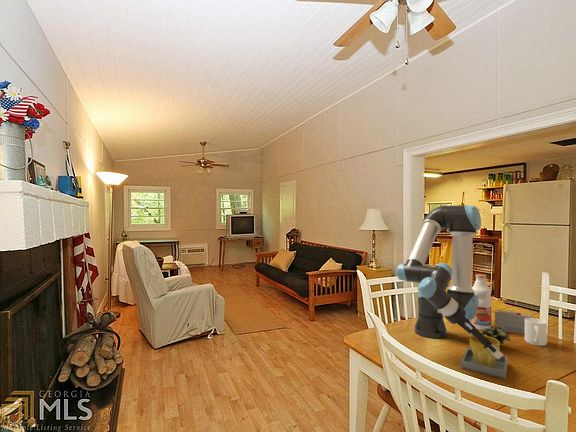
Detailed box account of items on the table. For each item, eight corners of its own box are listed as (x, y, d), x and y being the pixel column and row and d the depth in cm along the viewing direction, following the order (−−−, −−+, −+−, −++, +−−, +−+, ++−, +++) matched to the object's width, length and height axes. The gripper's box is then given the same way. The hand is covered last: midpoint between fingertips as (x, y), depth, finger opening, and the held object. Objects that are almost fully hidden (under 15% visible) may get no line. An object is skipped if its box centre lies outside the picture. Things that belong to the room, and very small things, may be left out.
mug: (549, 350, 144) (549, 327, 144) (526, 346, 149) (526, 324, 148) (545, 341, 154) (545, 319, 154) (523, 338, 159) (523, 316, 159)
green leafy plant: (495, 356, 151) (512, 336, 150) (499, 361, 142) (518, 340, 140) (472, 338, 156) (489, 319, 155) (475, 342, 146) (492, 321, 145)
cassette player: (531, 333, 165) (531, 313, 165) (532, 335, 163) (532, 315, 162) (494, 328, 172) (494, 309, 172) (495, 330, 170) (495, 311, 169)
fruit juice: (481, 324, 178) (482, 272, 178) (495, 330, 169) (495, 276, 169) (466, 325, 177) (466, 273, 176) (479, 331, 168) (479, 277, 167)
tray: (461, 368, 128) (461, 360, 128) (466, 355, 140) (466, 348, 140) (505, 379, 120) (505, 371, 120) (507, 364, 132) (507, 356, 131)
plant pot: (464, 358, 135) (464, 334, 135) (489, 358, 135) (489, 334, 135) (478, 370, 125) (478, 345, 125) (505, 370, 125) (505, 345, 125)
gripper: (434, 307, 143) (470, 343, 142) (456, 327, 119) (501, 370, 118) (446, 296, 143) (483, 332, 141) (472, 313, 119) (516, 356, 117)
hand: (491, 349), depth 130 cm, fingers open, 12 cm apart
